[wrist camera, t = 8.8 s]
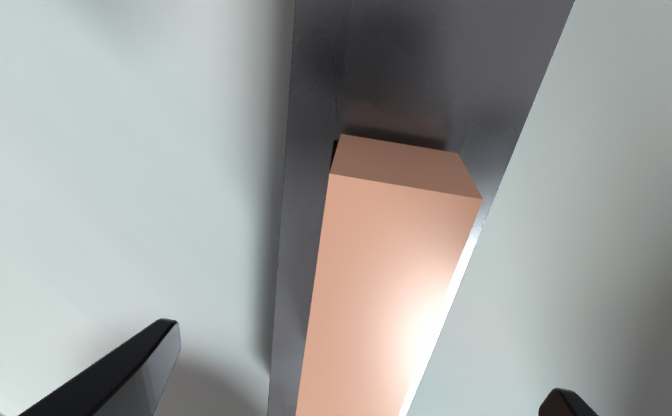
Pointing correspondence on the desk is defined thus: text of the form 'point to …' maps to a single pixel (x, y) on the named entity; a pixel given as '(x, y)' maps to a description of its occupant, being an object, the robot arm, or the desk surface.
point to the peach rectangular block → (381, 272)
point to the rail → (398, 122)
